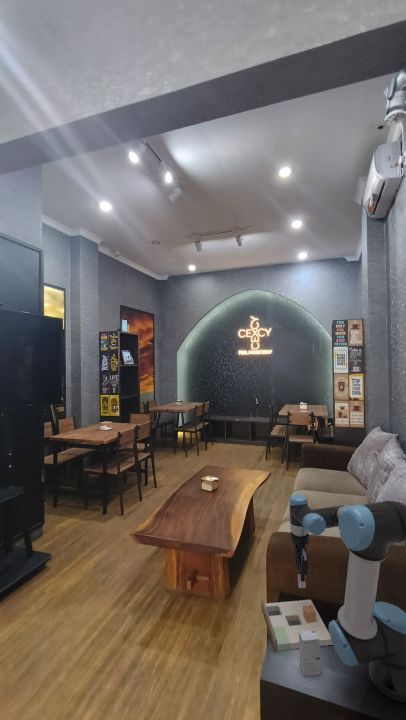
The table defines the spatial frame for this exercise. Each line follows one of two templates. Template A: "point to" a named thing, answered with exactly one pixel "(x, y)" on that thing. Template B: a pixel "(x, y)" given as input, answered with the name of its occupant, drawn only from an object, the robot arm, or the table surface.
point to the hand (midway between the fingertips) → (302, 586)
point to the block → (309, 613)
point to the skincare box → (309, 653)
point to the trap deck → (291, 624)
